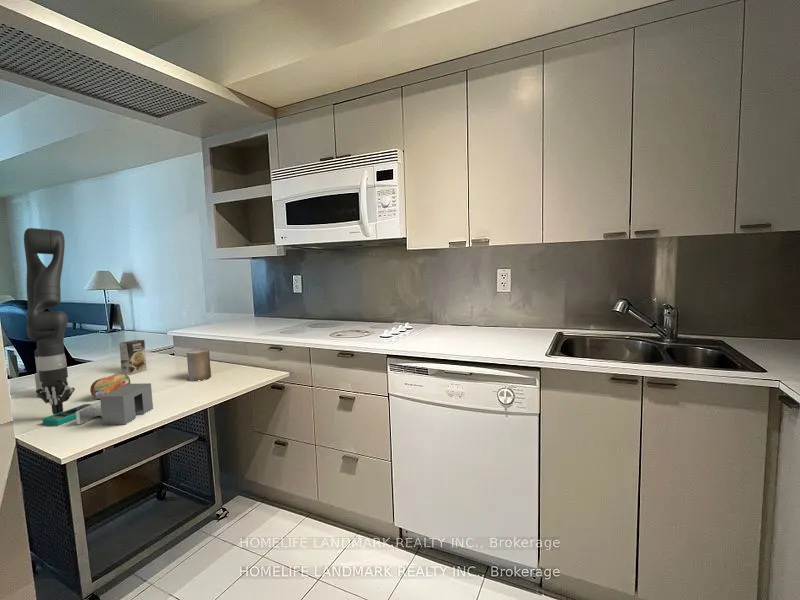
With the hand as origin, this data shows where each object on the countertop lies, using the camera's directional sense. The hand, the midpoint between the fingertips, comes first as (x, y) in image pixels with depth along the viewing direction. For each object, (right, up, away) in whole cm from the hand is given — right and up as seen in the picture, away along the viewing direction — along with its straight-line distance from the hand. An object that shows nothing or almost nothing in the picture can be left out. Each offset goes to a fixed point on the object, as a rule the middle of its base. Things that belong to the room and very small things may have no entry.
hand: (57, 413), depth 138 cm
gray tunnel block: (+26, -1, -1) cm, 26 cm away
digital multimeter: (+5, -2, 0) cm, 6 cm away
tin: (+2, +1, +23) cm, 23 cm away
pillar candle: (+28, +3, +45) cm, 53 cm away
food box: (-13, +4, +59) cm, 60 cm away
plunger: (+20, 0, +3) cm, 20 cm away
